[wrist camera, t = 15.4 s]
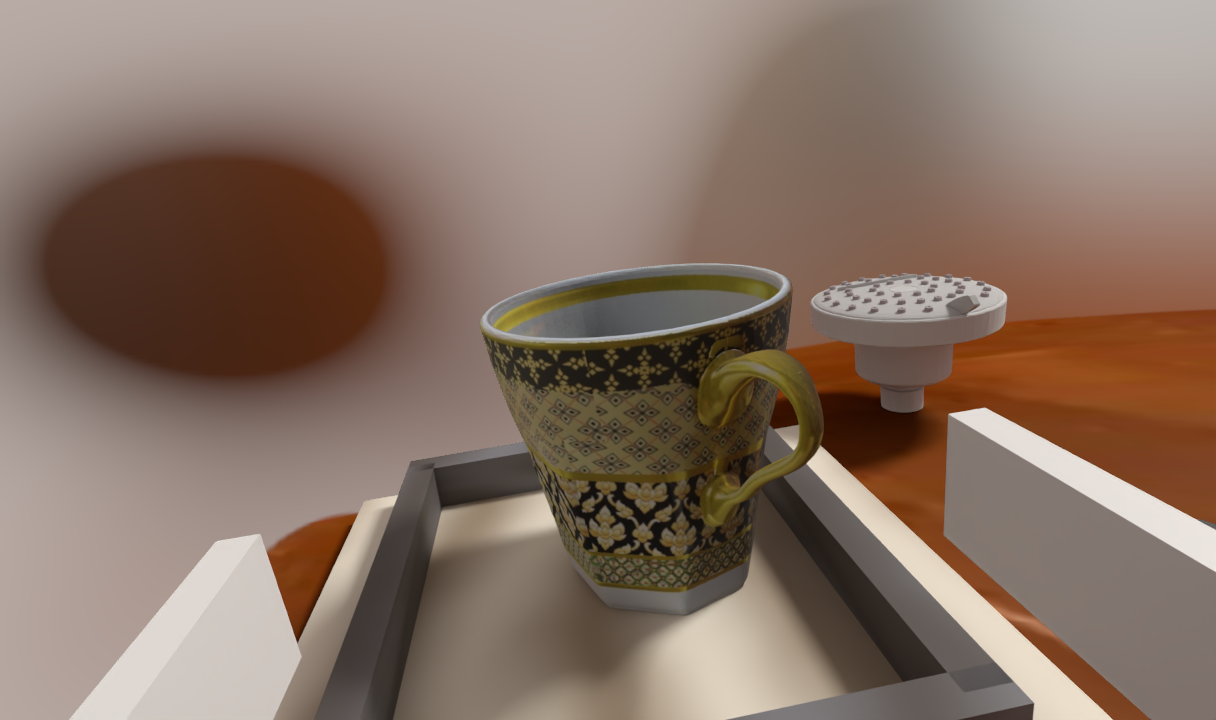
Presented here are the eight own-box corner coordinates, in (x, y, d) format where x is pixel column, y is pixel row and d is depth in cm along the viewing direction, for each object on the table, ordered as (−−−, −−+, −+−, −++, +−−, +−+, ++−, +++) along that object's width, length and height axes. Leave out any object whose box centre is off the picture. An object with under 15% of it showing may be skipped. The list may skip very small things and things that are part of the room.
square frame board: (799, 442, 33) (797, 388, 32) (1168, 810, 14) (1187, 706, 13) (369, 519, 31) (354, 464, 31) (137, 1058, 12) (78, 955, 12)
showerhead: (882, 314, 28) (779, 278, 38) (882, 462, 30) (785, 393, 40) (1067, 279, 30) (924, 253, 39) (1054, 423, 32) (922, 365, 41)
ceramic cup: (495, 543, 26) (444, 305, 23) (695, 465, 30) (675, 254, 27) (668, 798, 15) (616, 404, 12) (949, 620, 19) (963, 292, 16)
